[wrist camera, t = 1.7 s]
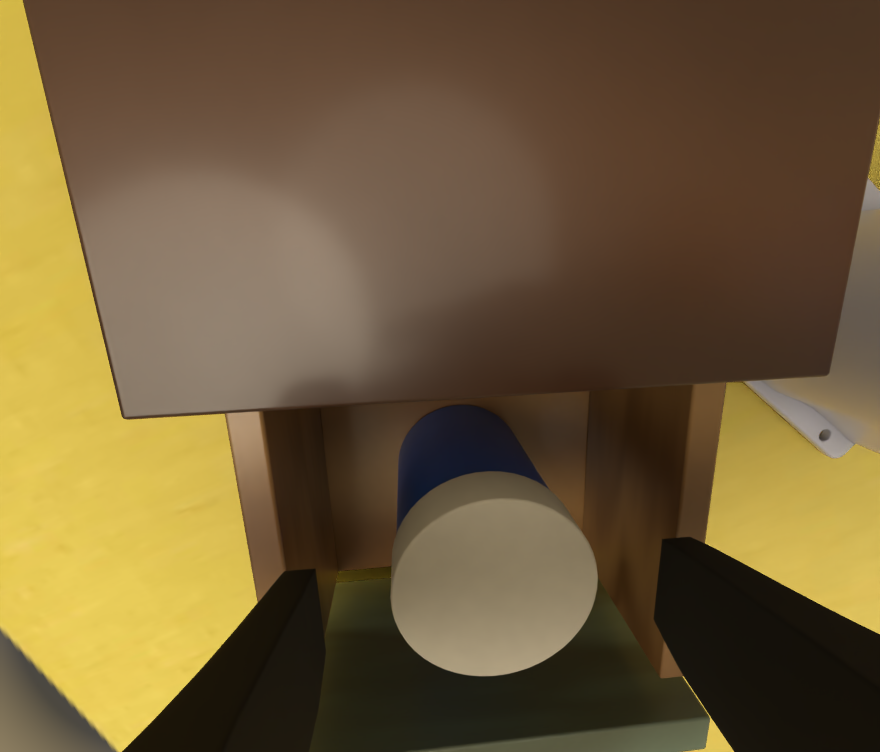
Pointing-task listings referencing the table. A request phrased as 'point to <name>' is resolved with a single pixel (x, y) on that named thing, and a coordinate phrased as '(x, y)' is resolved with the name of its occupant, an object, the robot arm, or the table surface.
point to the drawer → (589, 503)
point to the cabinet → (459, 192)
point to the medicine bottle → (483, 549)
